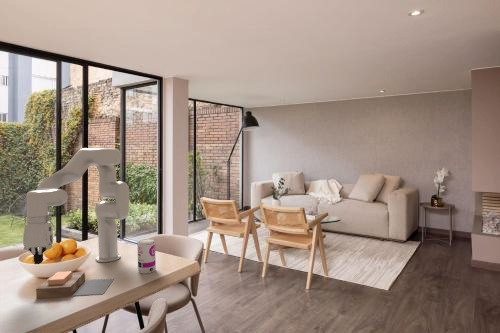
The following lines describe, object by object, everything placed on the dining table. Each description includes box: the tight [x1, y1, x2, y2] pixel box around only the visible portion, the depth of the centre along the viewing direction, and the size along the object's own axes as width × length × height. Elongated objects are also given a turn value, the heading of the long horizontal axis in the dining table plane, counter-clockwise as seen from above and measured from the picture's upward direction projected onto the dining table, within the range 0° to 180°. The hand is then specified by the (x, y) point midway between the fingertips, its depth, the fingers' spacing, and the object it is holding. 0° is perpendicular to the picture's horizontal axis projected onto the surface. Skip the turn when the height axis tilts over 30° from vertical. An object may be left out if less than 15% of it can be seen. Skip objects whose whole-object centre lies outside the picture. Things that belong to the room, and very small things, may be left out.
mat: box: [71, 278, 115, 297], centre depth 143 cm, size 16×12×1 cm
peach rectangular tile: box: [48, 270, 73, 285], centre depth 140 cm, size 9×6×2 cm, turn 8°
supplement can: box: [137, 238, 157, 275], centre depth 161 cm, size 8×8×15 cm
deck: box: [35, 271, 86, 299], centre depth 141 cm, size 16×13×4 cm
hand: (38, 263), depth 138 cm, fingers closed
